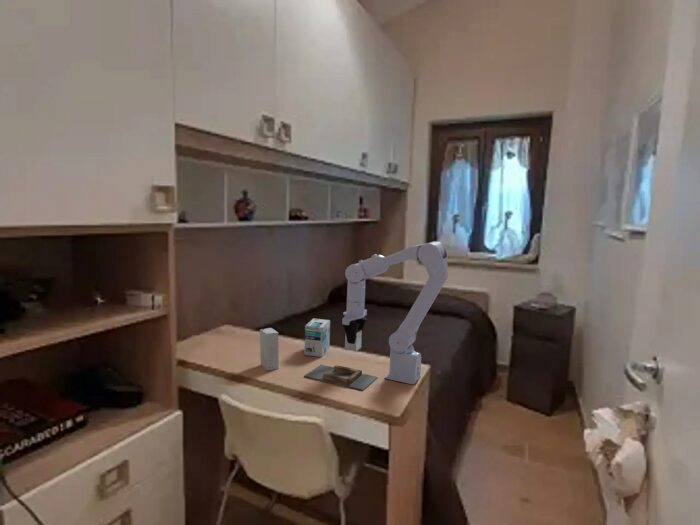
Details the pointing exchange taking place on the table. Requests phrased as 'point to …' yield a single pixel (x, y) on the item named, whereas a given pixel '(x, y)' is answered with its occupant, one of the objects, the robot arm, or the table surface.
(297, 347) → the table surface
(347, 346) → the aluminium block
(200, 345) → the table surface
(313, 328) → the light bulb box
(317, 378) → the dock
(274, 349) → the skincare box
